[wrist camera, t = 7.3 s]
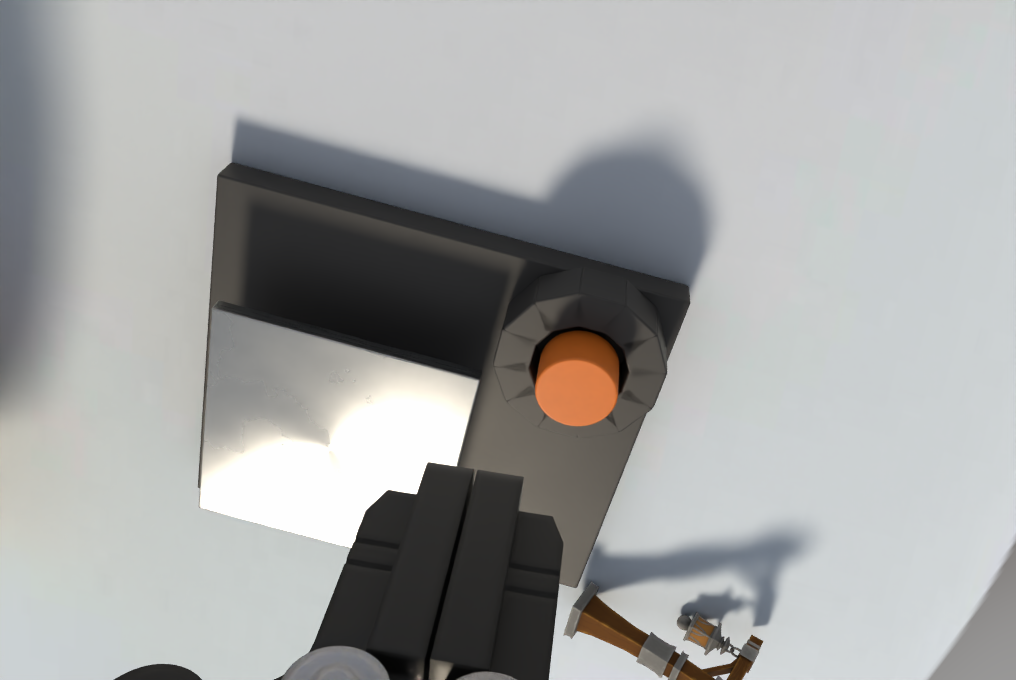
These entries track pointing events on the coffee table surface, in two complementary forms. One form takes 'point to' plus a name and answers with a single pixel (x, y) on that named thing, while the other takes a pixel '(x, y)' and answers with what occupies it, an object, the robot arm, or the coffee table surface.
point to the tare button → (577, 378)
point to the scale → (458, 324)
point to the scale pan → (321, 422)
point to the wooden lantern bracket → (659, 641)
